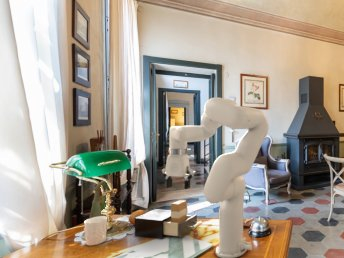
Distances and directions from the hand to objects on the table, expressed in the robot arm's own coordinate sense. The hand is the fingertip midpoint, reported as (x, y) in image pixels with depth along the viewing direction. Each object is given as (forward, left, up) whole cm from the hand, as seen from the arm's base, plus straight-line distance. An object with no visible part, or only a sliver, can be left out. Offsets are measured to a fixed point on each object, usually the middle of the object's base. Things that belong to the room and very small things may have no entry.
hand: (178, 187), depth 111 cm
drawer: (-2, 0, -21) cm, 21 cm away
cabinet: (+11, 0, -22) cm, 25 cm away
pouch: (+40, +5, -22) cm, 46 cm away
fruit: (+28, -5, -22) cm, 36 cm away
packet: (0, 0, -20) cm, 20 cm away
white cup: (+30, +15, -22) cm, 40 cm away
